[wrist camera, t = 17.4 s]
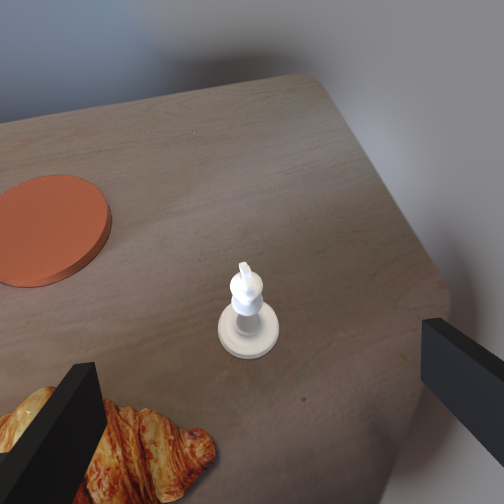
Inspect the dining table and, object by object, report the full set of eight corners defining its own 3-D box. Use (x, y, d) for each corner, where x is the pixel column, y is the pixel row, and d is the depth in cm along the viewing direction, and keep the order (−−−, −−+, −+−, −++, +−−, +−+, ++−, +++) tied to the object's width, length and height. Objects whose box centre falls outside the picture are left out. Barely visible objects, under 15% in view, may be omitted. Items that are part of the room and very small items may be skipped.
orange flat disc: (132, 242, 33) (128, 235, 32) (0, 313, 29) (-9, 307, 28) (83, 166, 38) (79, 157, 37) (-34, 218, 34) (-43, 211, 33)
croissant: (-83, 560, 24) (-240, 704, 16) (-102, 409, 24) (-264, 475, 16) (228, 489, 25) (229, 587, 17) (204, 349, 26) (194, 382, 18)
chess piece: (226, 367, 27) (213, 321, 18) (211, 309, 29) (194, 244, 21) (287, 348, 28) (302, 296, 19) (268, 293, 30) (273, 225, 22)
